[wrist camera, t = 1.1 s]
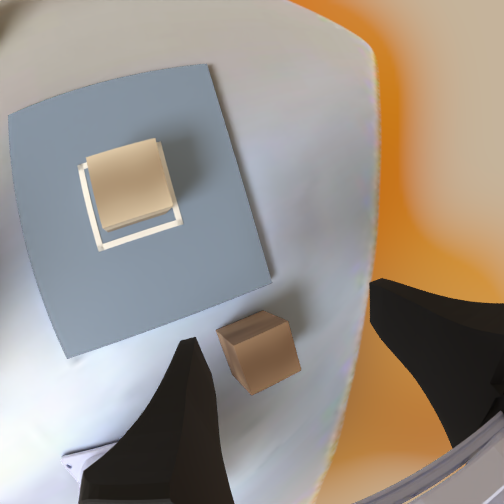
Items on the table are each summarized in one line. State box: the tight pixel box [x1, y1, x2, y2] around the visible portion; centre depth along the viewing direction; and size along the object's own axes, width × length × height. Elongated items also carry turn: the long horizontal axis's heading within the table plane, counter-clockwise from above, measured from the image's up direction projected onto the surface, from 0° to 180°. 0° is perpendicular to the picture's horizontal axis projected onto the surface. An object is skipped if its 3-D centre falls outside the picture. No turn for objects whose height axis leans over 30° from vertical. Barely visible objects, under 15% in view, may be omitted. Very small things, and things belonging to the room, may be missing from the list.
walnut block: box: [216, 311, 301, 395], centre depth 21 cm, size 4×4×4 cm
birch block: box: [86, 138, 173, 232], centre depth 16 cm, size 4×4×4 cm
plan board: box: [8, 64, 272, 359], centre depth 19 cm, size 18×16×1 cm
